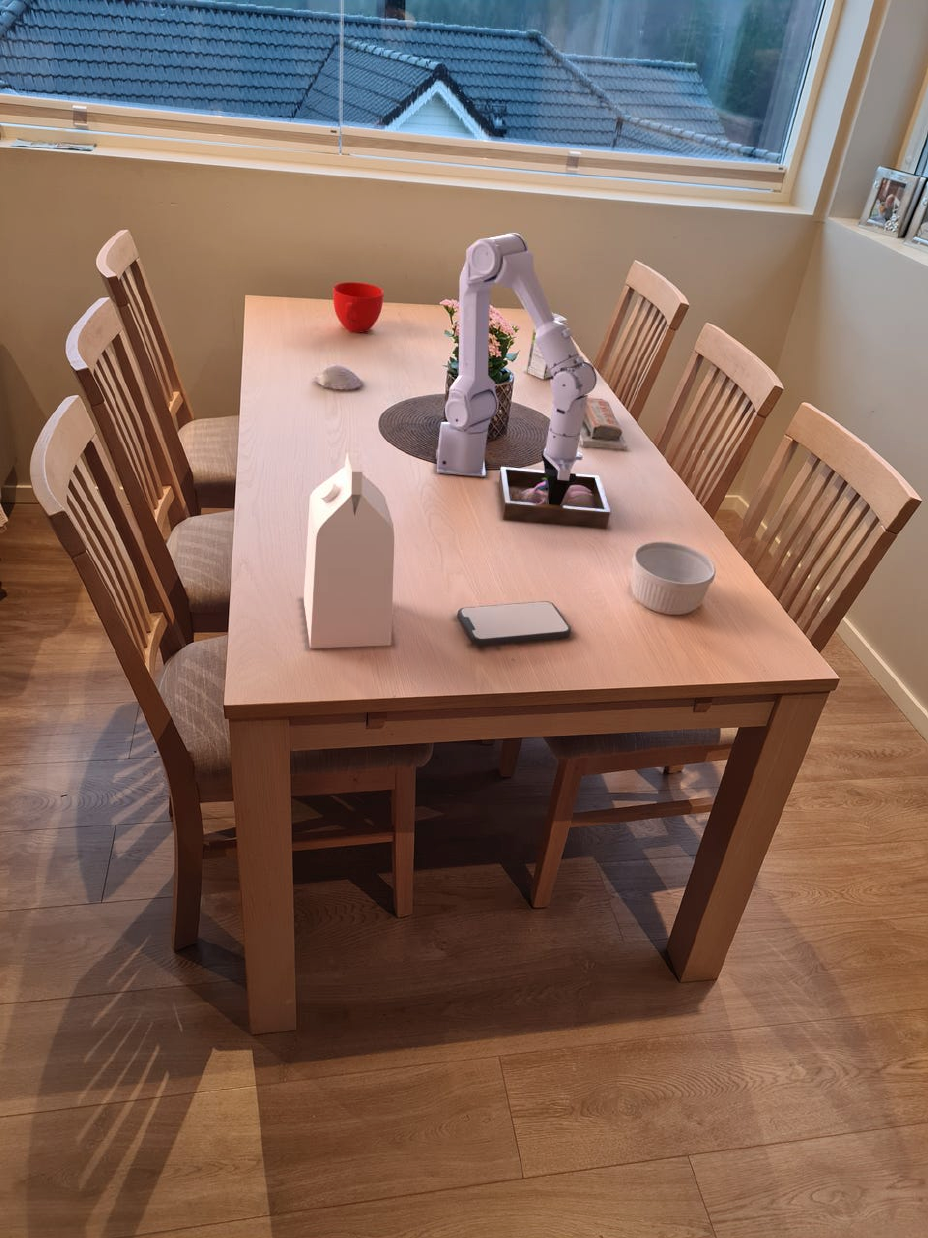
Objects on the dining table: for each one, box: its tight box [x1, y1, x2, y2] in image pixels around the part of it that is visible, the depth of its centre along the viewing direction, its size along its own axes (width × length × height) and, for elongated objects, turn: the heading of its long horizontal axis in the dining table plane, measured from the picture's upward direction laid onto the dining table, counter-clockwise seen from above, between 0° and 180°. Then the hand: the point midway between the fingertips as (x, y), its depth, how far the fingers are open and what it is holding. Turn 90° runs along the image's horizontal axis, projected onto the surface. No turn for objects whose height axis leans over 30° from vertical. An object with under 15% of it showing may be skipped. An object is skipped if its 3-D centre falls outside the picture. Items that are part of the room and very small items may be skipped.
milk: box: [303, 451, 395, 649], centre depth 131 cm, size 12×12×26 cm
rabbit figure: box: [511, 478, 593, 506], centre depth 175 cm, size 6×6×15 cm
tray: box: [498, 466, 612, 530], centre depth 175 cm, size 19×15×4 cm
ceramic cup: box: [332, 281, 385, 333], centre depth 243 cm, size 13×17×10 cm
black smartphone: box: [456, 600, 572, 648], centre depth 141 cm, size 9×2×16 cm
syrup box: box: [526, 312, 569, 380], centre depth 230 cm, size 6×6×14 cm
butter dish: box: [579, 397, 628, 451], centre depth 206 cm, size 18×5×10 cm
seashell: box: [314, 364, 362, 391], centre depth 213 cm, size 10×6×10 cm
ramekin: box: [630, 540, 716, 616], centre depth 152 cm, size 13×13×7 cm
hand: (552, 497), depth 175 cm, fingers closed on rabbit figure, 5 cm apart
